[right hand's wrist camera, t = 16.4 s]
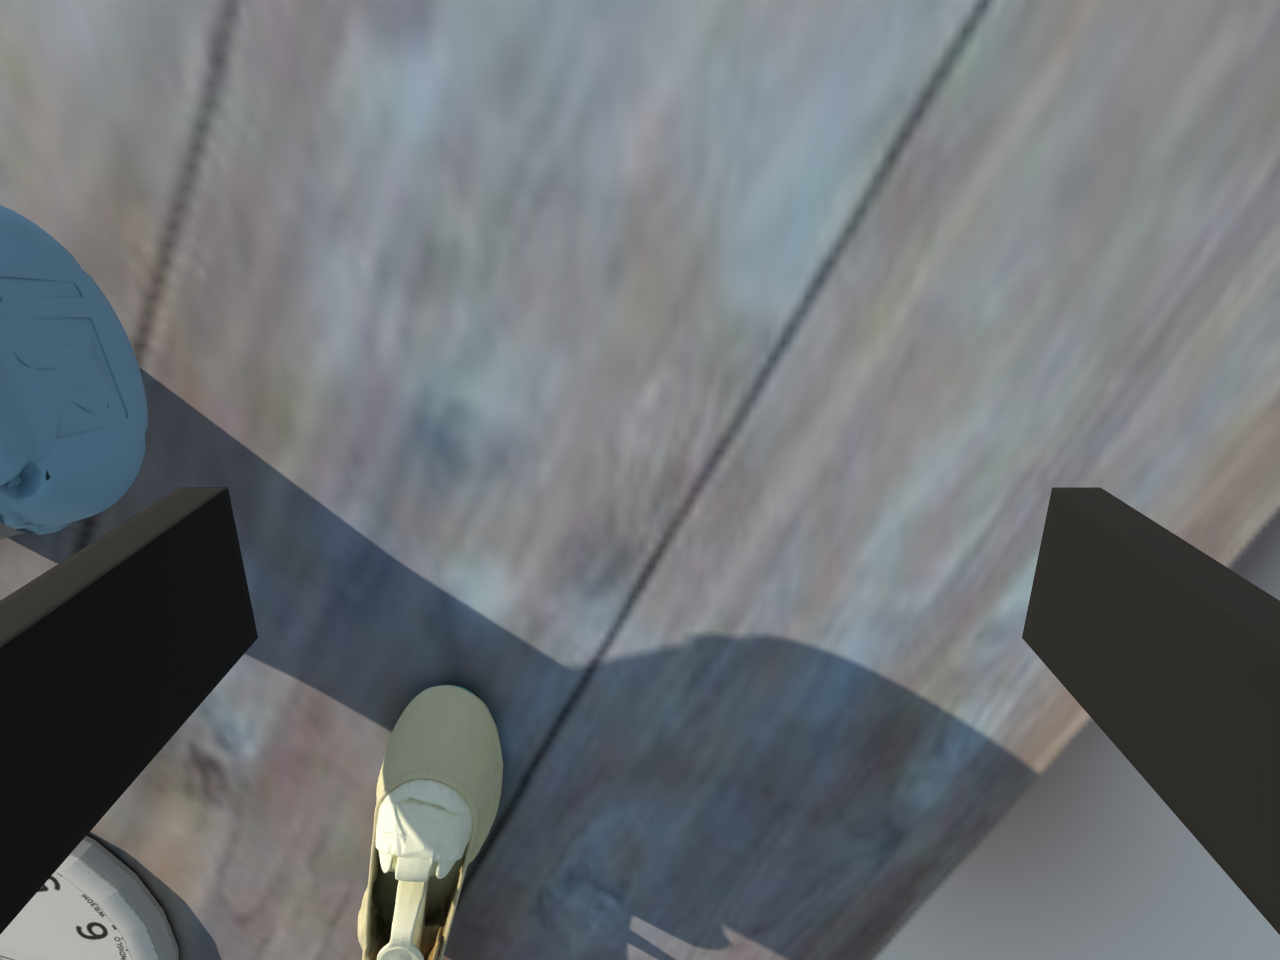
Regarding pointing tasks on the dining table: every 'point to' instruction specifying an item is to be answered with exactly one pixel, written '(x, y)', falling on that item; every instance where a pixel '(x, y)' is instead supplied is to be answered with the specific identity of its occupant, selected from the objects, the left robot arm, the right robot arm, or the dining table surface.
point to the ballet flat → (429, 822)
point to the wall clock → (90, 914)
